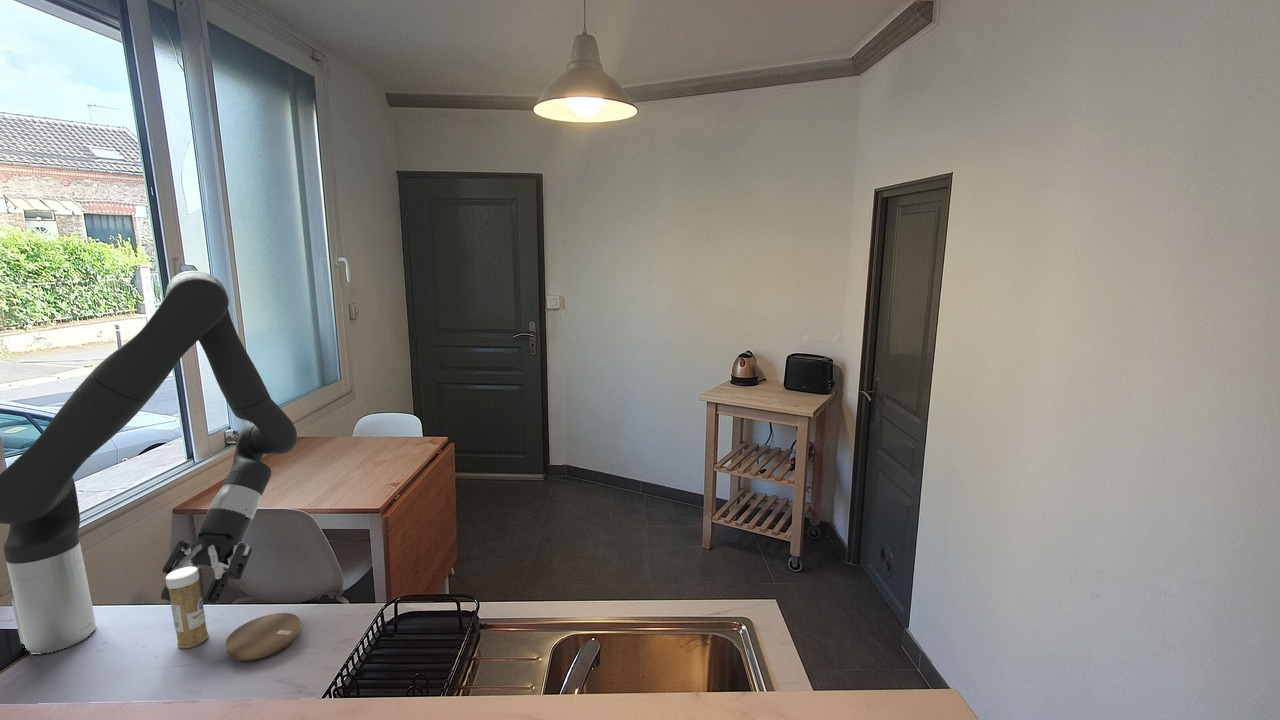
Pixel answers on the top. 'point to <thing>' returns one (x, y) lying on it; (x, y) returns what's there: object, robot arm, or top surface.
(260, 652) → the disc
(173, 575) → the sprinkles bottle
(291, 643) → the turntable base
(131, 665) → the top surface
